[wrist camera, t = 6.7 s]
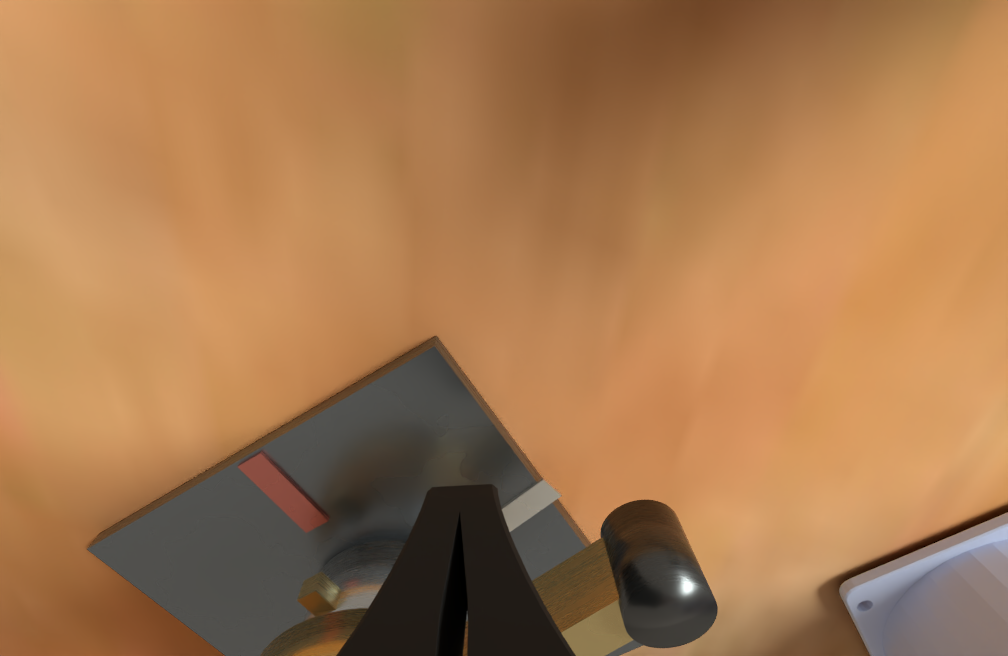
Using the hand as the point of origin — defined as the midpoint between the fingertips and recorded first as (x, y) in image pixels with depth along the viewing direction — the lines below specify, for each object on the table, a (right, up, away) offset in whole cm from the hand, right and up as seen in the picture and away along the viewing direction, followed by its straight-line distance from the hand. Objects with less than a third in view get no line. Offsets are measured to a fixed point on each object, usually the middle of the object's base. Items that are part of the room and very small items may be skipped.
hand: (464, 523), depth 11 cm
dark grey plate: (-3, -4, +6) cm, 8 cm away
